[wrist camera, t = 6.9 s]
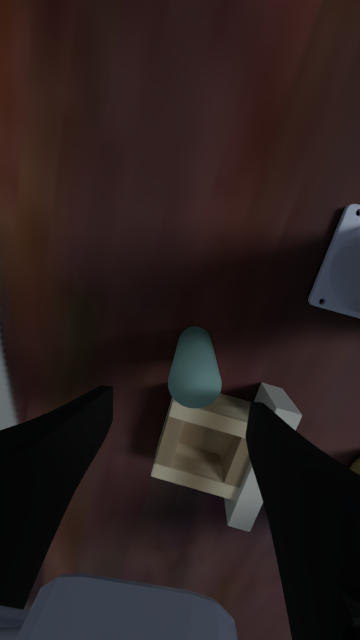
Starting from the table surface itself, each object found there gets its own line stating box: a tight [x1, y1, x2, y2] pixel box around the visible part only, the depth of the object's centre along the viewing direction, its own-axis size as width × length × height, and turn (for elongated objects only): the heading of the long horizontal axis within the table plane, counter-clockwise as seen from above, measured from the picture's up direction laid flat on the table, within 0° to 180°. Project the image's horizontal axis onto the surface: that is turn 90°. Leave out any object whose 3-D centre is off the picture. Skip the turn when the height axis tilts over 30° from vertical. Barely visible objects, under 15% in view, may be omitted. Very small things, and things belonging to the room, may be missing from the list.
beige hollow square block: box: [151, 393, 251, 501], centre depth 20 cm, size 8×8×4 cm
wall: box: [224, 383, 302, 532], centre depth 20 cm, size 2×12×4 cm, turn 165°
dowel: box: [168, 326, 221, 409], centre depth 16 cm, size 3×3×8 cm
